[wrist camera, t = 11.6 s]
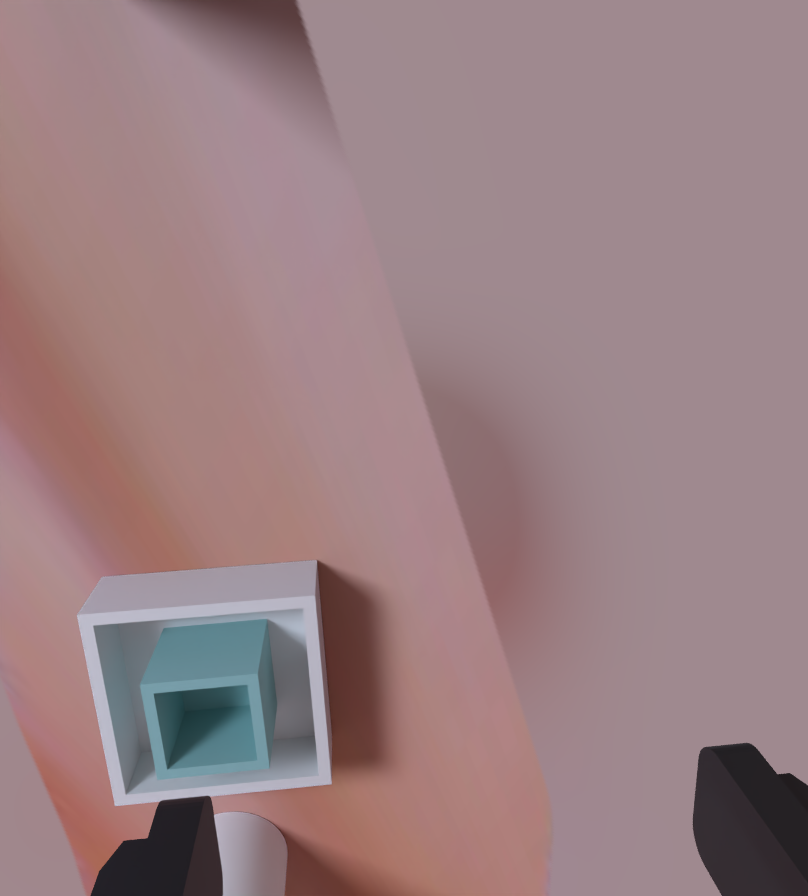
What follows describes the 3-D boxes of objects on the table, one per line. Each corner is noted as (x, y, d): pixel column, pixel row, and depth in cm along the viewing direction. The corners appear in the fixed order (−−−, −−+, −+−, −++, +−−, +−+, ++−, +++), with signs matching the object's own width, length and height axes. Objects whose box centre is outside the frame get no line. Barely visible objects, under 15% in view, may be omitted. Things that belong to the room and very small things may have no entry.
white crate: (101, 576, 42) (76, 614, 38) (316, 560, 43) (314, 595, 39) (134, 754, 46) (115, 806, 42) (332, 735, 47) (331, 784, 43)
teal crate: (163, 628, 43) (139, 684, 37) (267, 618, 43) (257, 673, 38) (178, 714, 44) (157, 780, 39) (277, 704, 45) (269, 768, 40)
